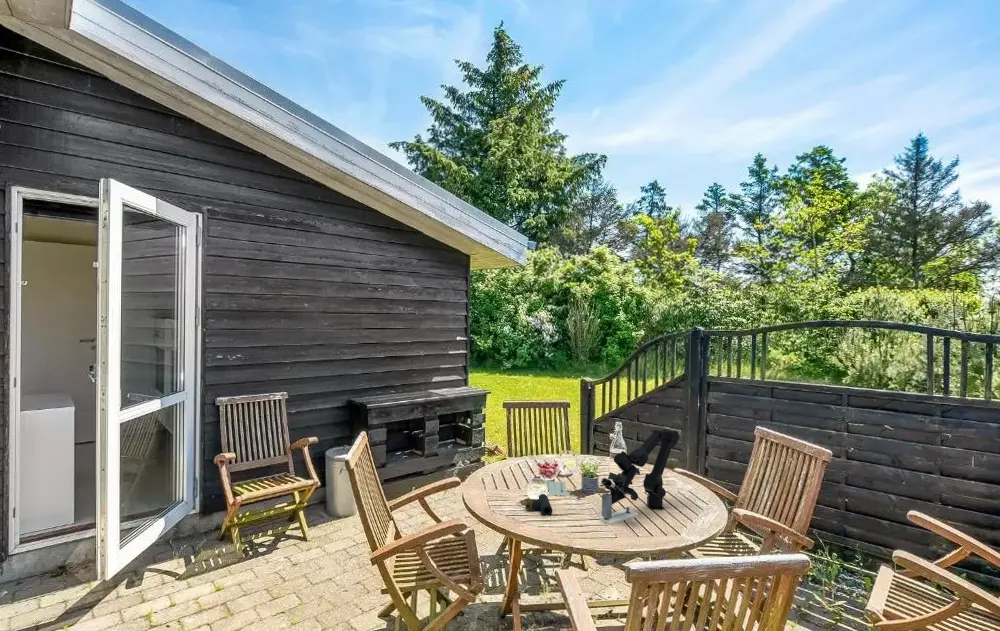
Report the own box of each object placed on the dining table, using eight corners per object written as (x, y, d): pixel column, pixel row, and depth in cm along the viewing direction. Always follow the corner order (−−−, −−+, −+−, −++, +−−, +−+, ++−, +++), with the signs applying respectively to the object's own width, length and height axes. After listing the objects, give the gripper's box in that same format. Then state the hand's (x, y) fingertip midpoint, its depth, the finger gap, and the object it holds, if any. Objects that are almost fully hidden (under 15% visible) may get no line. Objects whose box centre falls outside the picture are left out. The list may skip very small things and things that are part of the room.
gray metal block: (606, 516, 222) (606, 493, 222) (611, 518, 219) (611, 495, 219) (602, 517, 220) (602, 494, 220) (606, 519, 218) (606, 496, 218)
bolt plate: (626, 511, 231) (626, 503, 231) (638, 516, 225) (638, 508, 226) (598, 519, 222) (598, 511, 222) (609, 524, 216) (609, 517, 216)
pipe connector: (528, 505, 225) (525, 493, 240) (527, 516, 225) (524, 504, 240) (552, 505, 226) (548, 493, 241) (552, 516, 226) (547, 504, 241)
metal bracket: (541, 477, 264) (568, 478, 262) (541, 486, 265) (568, 487, 264) (540, 493, 250) (569, 494, 248) (540, 503, 252) (569, 504, 250)
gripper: (603, 460, 232) (586, 488, 226) (633, 471, 216) (615, 500, 210) (615, 474, 236) (598, 501, 230) (645, 485, 220) (628, 515, 214)
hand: (609, 504), depth 221 cm, fingers closed, pressing on gray metal block
